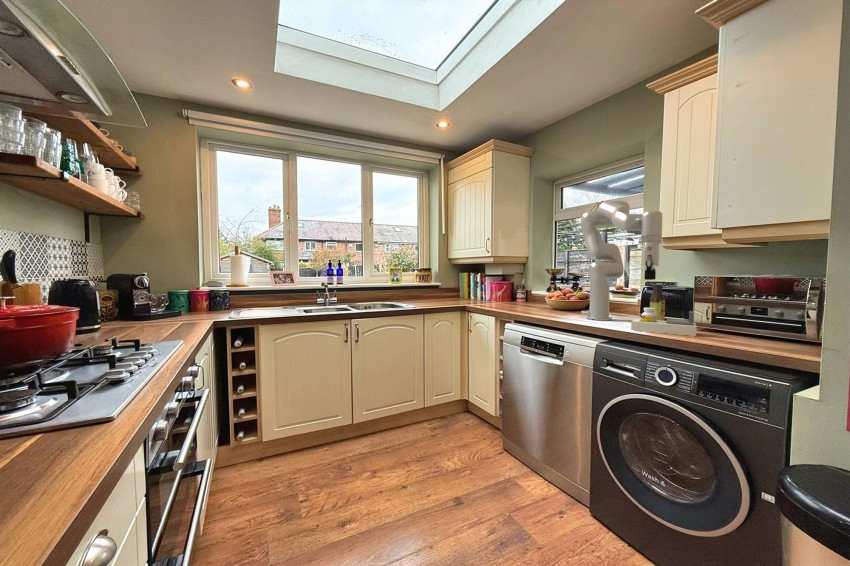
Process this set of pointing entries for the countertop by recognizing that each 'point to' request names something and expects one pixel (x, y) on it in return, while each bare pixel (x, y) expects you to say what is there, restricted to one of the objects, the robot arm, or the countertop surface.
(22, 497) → the countertop surface
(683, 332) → the holder
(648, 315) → the supplement bottle
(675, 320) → the grey l-shaped bracket
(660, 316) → the sauce bottle
